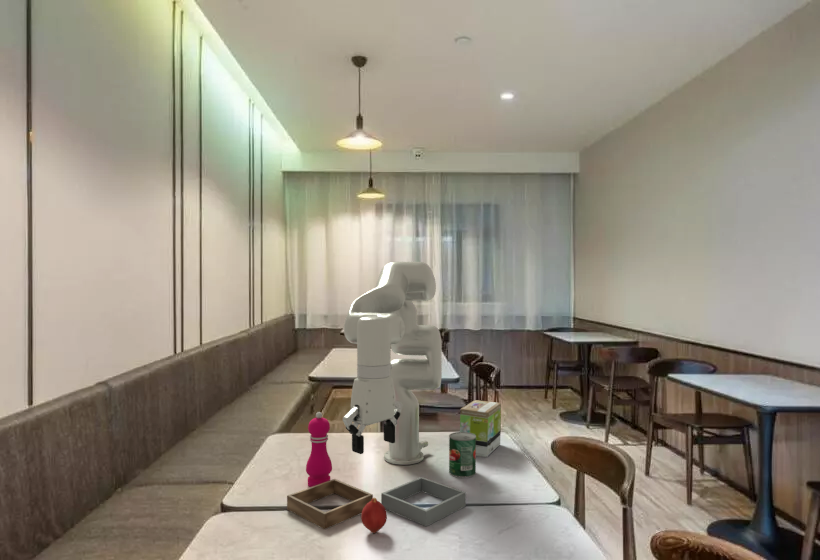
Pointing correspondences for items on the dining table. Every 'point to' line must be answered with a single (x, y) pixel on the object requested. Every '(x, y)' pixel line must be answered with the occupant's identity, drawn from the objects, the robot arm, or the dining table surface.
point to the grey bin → (422, 516)
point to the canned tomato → (462, 454)
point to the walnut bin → (315, 515)
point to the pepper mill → (318, 451)
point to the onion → (374, 515)
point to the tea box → (482, 425)
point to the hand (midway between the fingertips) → (374, 447)
